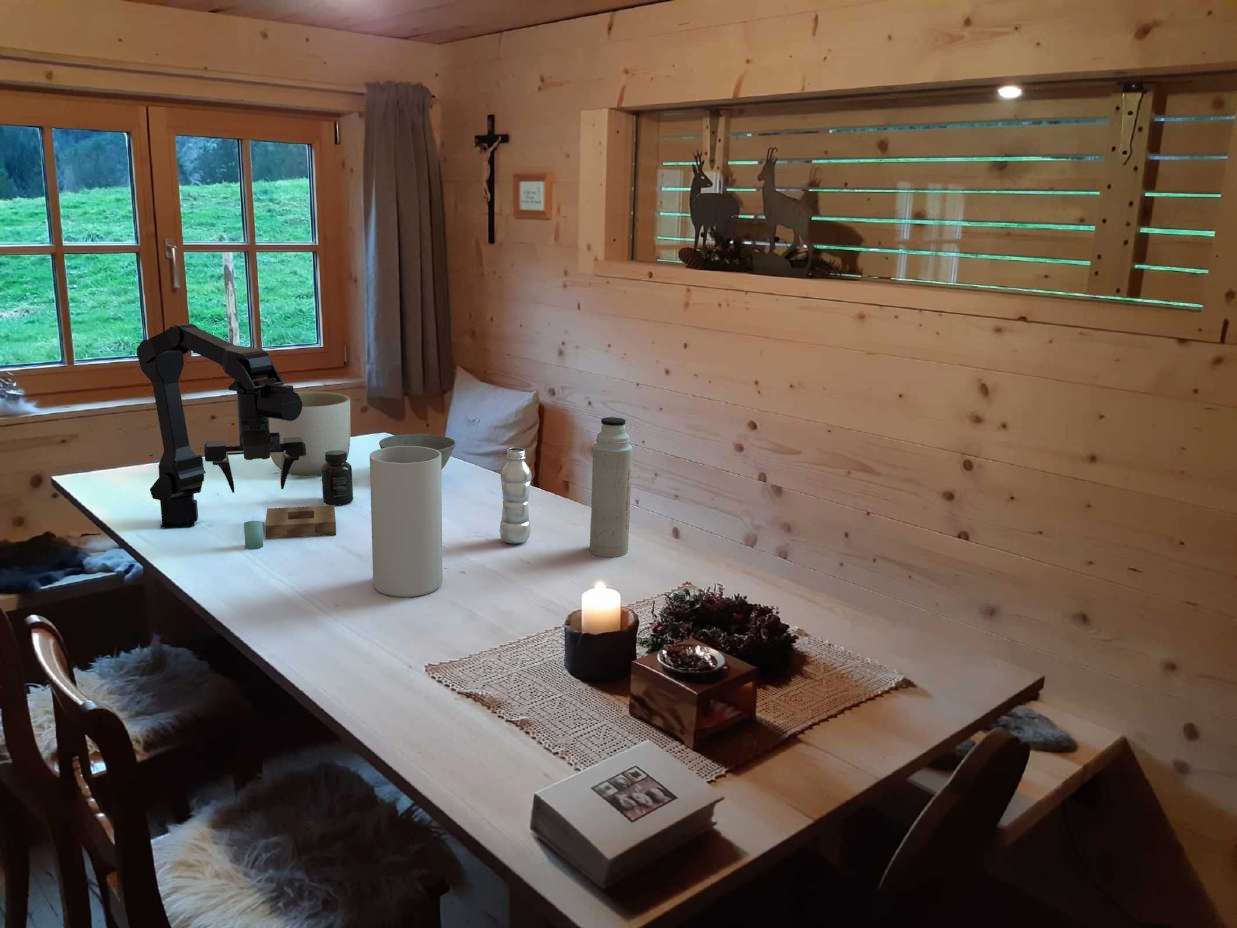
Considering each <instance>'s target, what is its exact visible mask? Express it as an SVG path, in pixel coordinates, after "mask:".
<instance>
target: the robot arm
mask: <svg viewBox="0 0 1237 928" xmlns="http://www.w3.org/2000/svg"><path fill="white" fill-rule="evenodd" d="M190 351H191V352H193V353H195V354H198V355H199V356H201V357H203V358H206V359H208V360H210V361H212V362H213V363H216V364H218V365H219V366H221V368H222V370H223V371H224V373H225V374H226V375H227V376H229V377H230V378H231V379H233V380H234V381H232V382H231V384H230V385H229V386H228V387H227V389H228V390H229V391H232V392H236V407H237V422H238V434H239V435H238V436H239V438H238V439H239V444H231V445H230V444H229V445H227V443H226V440H216V441H215V440H214V441H206V442H205V443H204V445H203V446H204V447H203V449H204V458H203V456H202V455H201V454H198V455H197V454H196V453H195V452H194V451H193V449H192V448H191V446H190V441H189V434H188V429H187V428H188V427H187V423H186V417H185V411H184V405H183V399H182V394H181V393H182V392H181V388H180V380H179V379H180V377H181V374H182V372H183V370H184V368H185V367H184V366H185V360H184V359H185V355H186V354H188V353H189V352H190ZM136 355H137V359H138V362H139V365H140V366H139V367H140V369H141V372H142V373H143V374H144V375H145V376H146V378H148V379H149V381H150V382H151V384H152V390H153V394H154V400H155V407H156V412H157V413H156V414H157V417H158V423H159V429H160V434H161V440H162V446H163V454H162V455H161V458H160V461H159V464H158V478H157V479H156V481H154V483H153V484H152V485H151V487H150V488H149V490H150V494H151V497H152V499H153V500H158V501H159V502H160V503H159V504H160V515H161V524H160V528H161V529H169V528H170V529H171V528H172V529H173V528H190V527H194V526H195V524H196V522H197V521H198V519H199V510H198V500H197V499H195V496H194V495H195V494H199V493H200V494H201V492H202V486H203V483H204V481H205V474H206V473H207V472H206V470H205V466H204V461H205V462H207V463H212V466H218V467H219V468H220V470H221V471H222V473H223V475H224V477H225V478H226V480H227V481H226V482H227V483H228V485H229V487H230V491H231V493H233V494H234V493H235V483H234V477H233V472H232V469H231V463H230V459H229V456H233V455H235V456H236V455H243V458H244V460H246V461H253V460H261V459H262V460H268V459H271V456H270V453H273V452H282V463H281V469H280V482H279V483H280V489H281V490H284V487H285V485H286V482H287V478H288V475H289V474H288V472H289V469H290V467H291V465H292V463H293V462H294V461H295V460H299V456H306V445H305V442H304V440H303V439H302V438H301V437H290V438H283V443H280V435H279V432H277V433H270V425H269V418H274V419H280V420H286V421H293V420H295V419H297V418H298V417H299V415H300V413H301V411H302V401H301V399H300V396H299V395H298V394H297V393H296V392H297V391H295V390H294V386H293V385H292V384H291V385H290V384H285V383H284V381H283V380H284V379H283V378H282V376H281V374H280V373H279V371H278V370H277V368H276V366H275V364H274V362H273V361H272V359H271V357H270V354H269V353H268V352H267V350H264V349H260V348H256V347H252V346H240V345H236V344H233V343H232V342H231V343H230V342H229V341H227V340H224V339H223V338H220V337H218V336H216V335H213V333H212V334H211V333H209V332H207V331H206V330H203V329H202V328H199V327H198V326H197V325H196V324H194V323H190V322H188V323H181V324H173V325H172V326H170V327H168V328H167V329H166V330H164V331H162V332H161V333H158V334H156V335H153V336H152V337H149V338H147V339H143V340H141V342H140V343H139V344H138V346H137V347H136ZM284 384H285V385H284Z"/></svg>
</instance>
